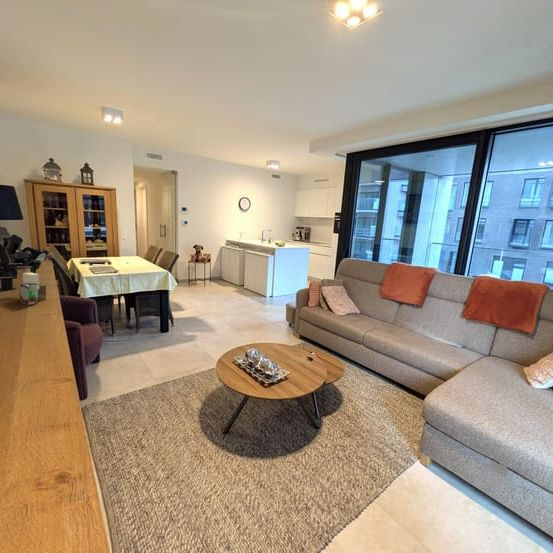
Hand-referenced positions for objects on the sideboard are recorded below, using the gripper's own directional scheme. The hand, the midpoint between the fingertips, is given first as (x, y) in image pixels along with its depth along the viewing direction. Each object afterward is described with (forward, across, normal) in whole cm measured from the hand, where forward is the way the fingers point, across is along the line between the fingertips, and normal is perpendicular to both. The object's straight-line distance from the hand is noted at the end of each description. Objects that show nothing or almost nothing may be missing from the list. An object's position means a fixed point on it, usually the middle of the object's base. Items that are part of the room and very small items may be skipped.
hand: (25, 277), depth 164 cm
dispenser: (+15, -1, +1) cm, 15 cm away
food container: (+19, -4, -3) cm, 20 cm away
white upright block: (+12, 0, +4) cm, 13 cm away
